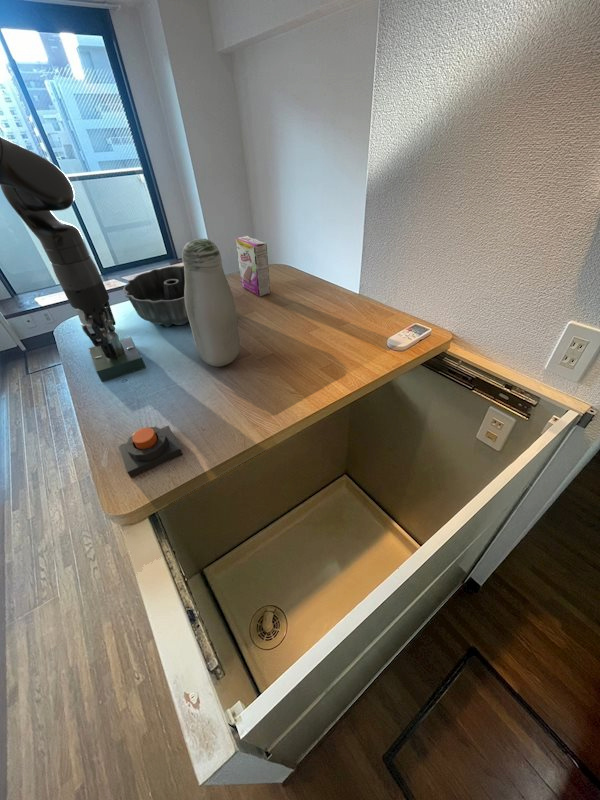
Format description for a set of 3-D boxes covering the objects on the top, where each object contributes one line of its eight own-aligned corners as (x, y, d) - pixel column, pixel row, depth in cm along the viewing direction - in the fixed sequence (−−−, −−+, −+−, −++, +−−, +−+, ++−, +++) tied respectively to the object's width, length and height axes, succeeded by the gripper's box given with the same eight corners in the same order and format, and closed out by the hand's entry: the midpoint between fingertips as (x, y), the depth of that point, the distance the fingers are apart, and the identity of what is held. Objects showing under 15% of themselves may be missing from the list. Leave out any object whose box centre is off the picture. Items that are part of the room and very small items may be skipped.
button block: (130, 478, 55) (123, 465, 53) (121, 451, 59) (114, 439, 57) (182, 454, 59) (177, 441, 56) (170, 431, 63) (165, 418, 61)
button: (138, 452, 55) (134, 446, 54) (133, 439, 57) (129, 432, 56) (159, 443, 57) (156, 436, 55) (154, 431, 59) (151, 424, 58)
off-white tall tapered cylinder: (226, 377, 76) (201, 251, 57) (192, 366, 79) (158, 244, 61) (250, 356, 83) (234, 237, 64) (217, 346, 86) (193, 231, 68)
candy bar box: (241, 287, 115) (234, 237, 105) (252, 284, 118) (247, 235, 107) (259, 297, 109) (254, 245, 98) (271, 293, 111) (267, 242, 101)
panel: (146, 367, 79) (141, 356, 77) (101, 382, 75) (95, 371, 73) (134, 346, 87) (130, 335, 85) (93, 358, 83) (87, 347, 81)
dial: (128, 349, 80) (120, 332, 77) (114, 359, 77) (106, 341, 74) (114, 346, 81) (107, 329, 78) (100, 355, 78) (91, 337, 75)
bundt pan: (182, 342, 88) (172, 308, 81) (115, 322, 97) (101, 289, 90) (239, 304, 105) (235, 273, 99) (177, 290, 115) (170, 260, 108)
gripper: (71, 271, 72) (103, 338, 83) (50, 297, 62) (90, 370, 73) (107, 267, 73) (134, 334, 85) (93, 292, 63) (125, 365, 74)
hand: (113, 350), depth 79 cm, fingers closed on dial, 4 cm apart
